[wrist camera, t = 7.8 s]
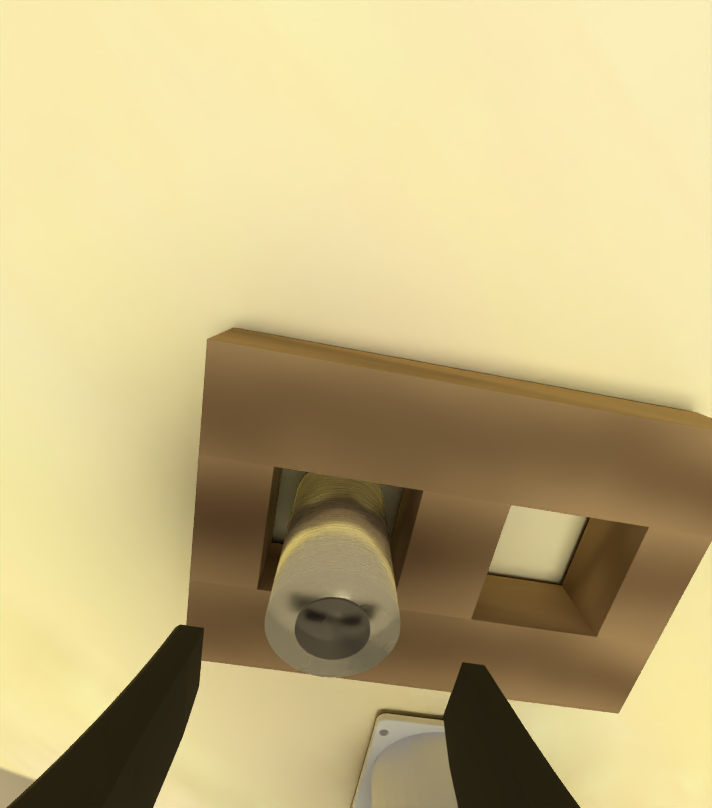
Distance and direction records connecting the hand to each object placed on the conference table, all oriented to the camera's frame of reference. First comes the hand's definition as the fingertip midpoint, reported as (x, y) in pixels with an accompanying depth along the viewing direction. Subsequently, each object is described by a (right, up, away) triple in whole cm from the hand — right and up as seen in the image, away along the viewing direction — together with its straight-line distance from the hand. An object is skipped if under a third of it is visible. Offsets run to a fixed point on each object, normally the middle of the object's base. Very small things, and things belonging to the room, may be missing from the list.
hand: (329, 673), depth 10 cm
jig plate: (+4, +2, +8) cm, 10 cm away
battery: (0, +3, +8) cm, 8 cm away
